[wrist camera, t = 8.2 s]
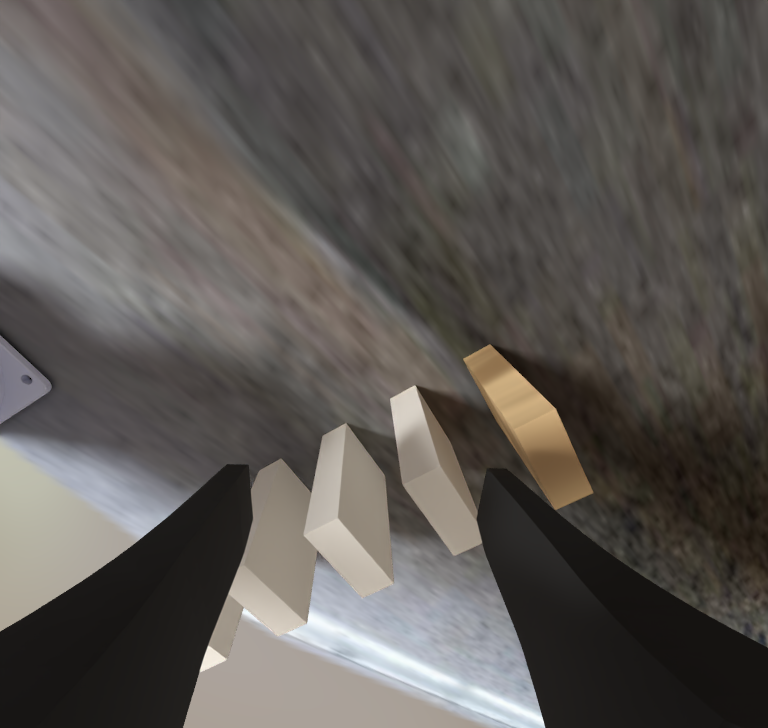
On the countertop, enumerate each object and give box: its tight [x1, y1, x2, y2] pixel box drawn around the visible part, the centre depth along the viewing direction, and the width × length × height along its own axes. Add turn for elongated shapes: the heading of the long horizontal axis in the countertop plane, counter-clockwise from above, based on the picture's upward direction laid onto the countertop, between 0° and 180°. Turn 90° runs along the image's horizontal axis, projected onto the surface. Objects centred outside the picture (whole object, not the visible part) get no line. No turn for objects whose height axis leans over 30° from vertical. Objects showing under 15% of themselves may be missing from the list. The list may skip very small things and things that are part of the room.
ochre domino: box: [463, 345, 593, 510], centre depth 17 cm, size 4×2×7 cm, turn 30°
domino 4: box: [390, 385, 482, 556], centre depth 17 cm, size 4×2×7 cm, turn 30°
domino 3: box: [304, 423, 394, 598], centre depth 18 cm, size 4×2×7 cm, turn 30°
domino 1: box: [200, 594, 244, 672], centre depth 19 cm, size 4×2×7 cm, turn 31°
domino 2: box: [228, 459, 317, 636], centre depth 19 cm, size 4×2×7 cm, turn 30°
